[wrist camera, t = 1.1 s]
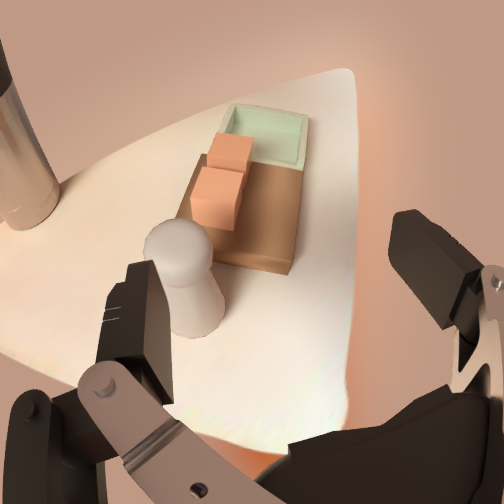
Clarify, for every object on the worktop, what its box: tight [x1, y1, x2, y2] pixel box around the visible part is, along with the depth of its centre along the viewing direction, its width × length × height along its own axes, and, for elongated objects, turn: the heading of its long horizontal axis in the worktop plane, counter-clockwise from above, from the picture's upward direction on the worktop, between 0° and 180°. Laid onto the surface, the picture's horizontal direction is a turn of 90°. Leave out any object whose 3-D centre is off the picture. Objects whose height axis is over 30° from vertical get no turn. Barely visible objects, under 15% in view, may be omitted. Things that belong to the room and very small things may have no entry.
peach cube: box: [207, 132, 254, 189], centre depth 33 cm, size 4×4×4 cm
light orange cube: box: [190, 166, 244, 231], centre depth 30 cm, size 4×4×4 cm
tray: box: [218, 103, 309, 171], centre depth 40 cm, size 11×10×4 cm
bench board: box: [175, 154, 303, 275], centre depth 34 cm, size 12×12×3 cm
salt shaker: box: [143, 218, 225, 339], centre depth 24 cm, size 6×6×13 cm
